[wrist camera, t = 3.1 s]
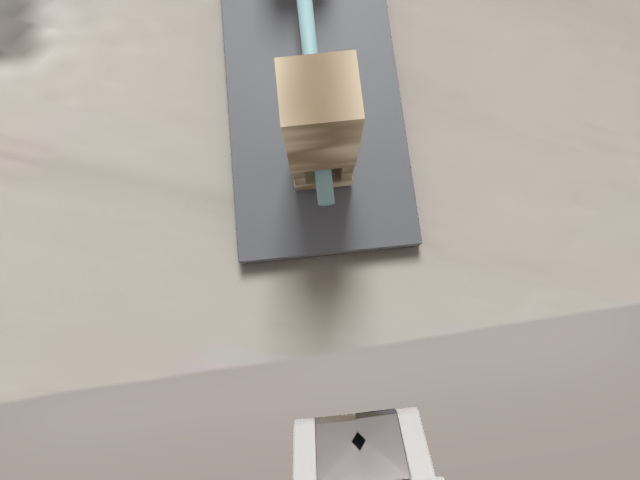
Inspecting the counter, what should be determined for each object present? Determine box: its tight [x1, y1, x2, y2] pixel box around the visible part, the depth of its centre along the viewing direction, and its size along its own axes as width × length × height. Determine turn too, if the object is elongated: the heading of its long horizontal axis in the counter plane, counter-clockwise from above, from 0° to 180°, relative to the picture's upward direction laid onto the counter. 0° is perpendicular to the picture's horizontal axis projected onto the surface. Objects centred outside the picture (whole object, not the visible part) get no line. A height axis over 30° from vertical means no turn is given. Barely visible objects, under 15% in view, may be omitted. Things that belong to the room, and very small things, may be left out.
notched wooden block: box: [274, 50, 365, 191], centre depth 28 cm, size 4×4×11 cm
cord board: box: [221, 0, 422, 264], centre depth 32 cm, size 14×30×8 cm, turn 6°
